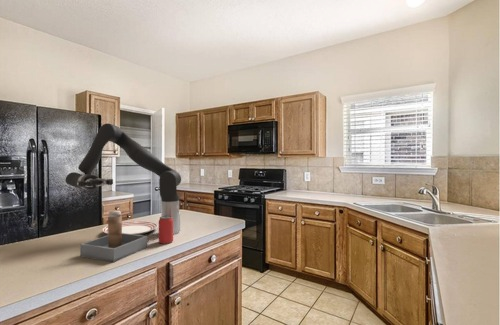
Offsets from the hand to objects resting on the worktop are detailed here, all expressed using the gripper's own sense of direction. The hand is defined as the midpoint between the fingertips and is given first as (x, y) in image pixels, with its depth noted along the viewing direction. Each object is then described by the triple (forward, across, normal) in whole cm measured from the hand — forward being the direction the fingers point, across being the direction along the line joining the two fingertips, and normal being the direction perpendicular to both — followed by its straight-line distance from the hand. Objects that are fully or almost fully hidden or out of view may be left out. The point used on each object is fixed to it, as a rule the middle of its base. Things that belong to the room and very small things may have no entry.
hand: (101, 183), depth 120 cm
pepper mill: (+14, 0, +28) cm, 31 cm away
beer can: (+20, +21, +29) cm, 41 cm away
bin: (+14, 0, +28) cm, 32 cm away
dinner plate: (-10, +18, +29) cm, 36 cm away
